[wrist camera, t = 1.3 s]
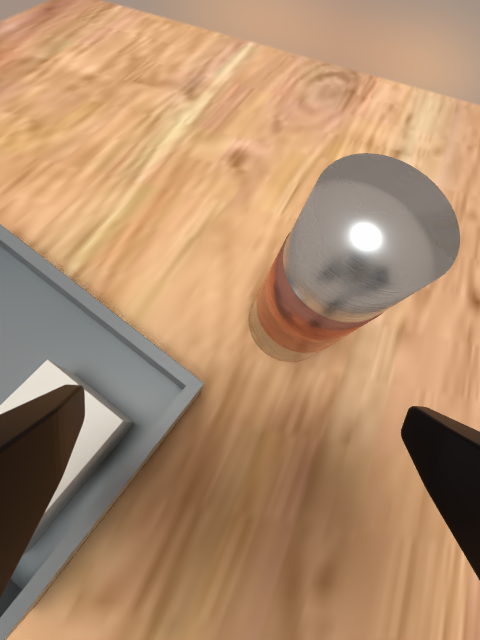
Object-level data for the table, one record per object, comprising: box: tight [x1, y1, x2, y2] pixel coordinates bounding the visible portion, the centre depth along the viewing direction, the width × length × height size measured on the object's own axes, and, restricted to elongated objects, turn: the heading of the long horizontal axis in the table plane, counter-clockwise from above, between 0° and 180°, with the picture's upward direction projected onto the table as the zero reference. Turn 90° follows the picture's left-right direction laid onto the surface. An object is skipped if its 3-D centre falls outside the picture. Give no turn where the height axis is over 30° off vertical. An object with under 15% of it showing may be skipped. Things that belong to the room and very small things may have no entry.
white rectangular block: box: [0, 359, 135, 556], centre depth 17 cm, size 5×8×4 cm, turn 144°
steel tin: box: [249, 153, 460, 362], centre depth 18 cm, size 6×6×13 cm
